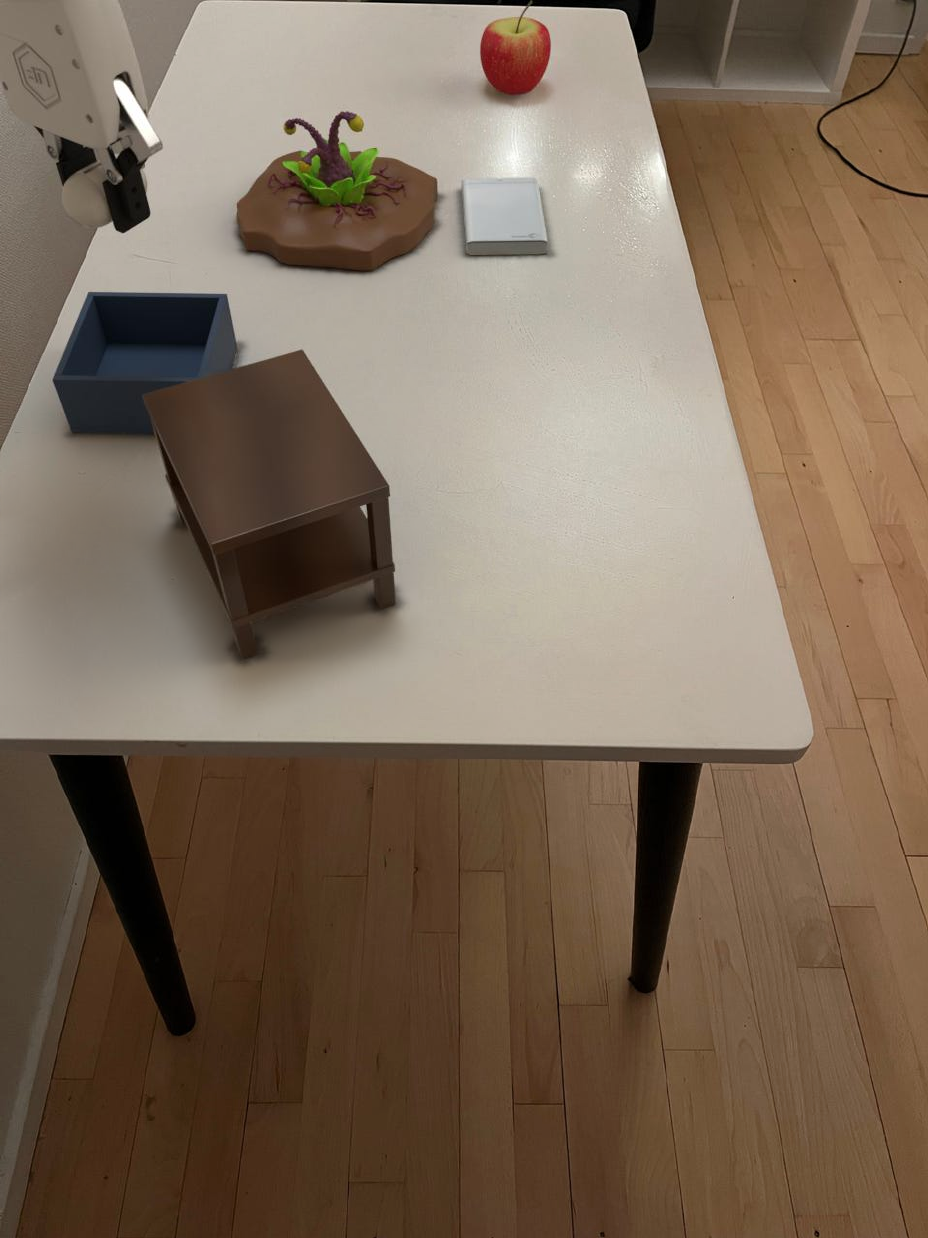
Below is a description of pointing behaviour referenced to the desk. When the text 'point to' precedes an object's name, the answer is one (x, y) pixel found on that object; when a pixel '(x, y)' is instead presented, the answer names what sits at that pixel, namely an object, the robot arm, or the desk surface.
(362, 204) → the plant
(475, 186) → the hard drive
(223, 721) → the desk surface
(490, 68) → the apple
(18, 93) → the robot arm
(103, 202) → the white capsule
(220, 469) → the side table
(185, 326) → the bin
